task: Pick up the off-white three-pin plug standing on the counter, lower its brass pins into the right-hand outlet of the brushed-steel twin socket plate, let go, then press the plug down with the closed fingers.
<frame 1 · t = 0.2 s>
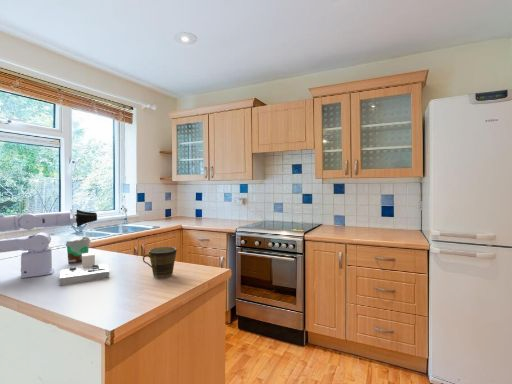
hand: (96, 216, 121), 21 cm above the counter, tool horizontal, fingers open, 7 cm apart
food container: (81, 261, 131), on the counter
ceramic cup: (159, 277, 106), on the counter
plug: (88, 269, 116), on the counter
socket: (84, 277, 106), on the counter
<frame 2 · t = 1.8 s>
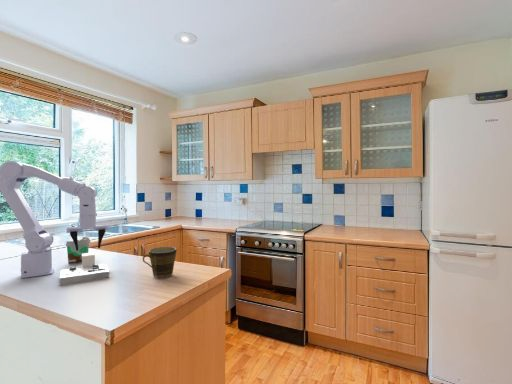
hand: (88, 248, 116), 8 cm above the counter, tool pointing down, fingers open, 7 cm apart
nothing on the counter moved.
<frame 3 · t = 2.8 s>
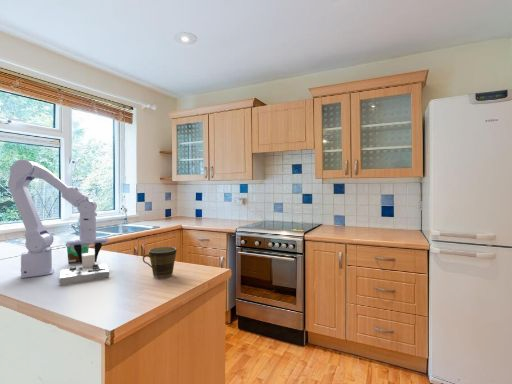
hand: (88, 262, 116), 3 cm above the counter, tool pointing down, fingers closed on plug, 4 cm apart
plug: (88, 269, 116), on the counter, touching gripper
everything else where it was.
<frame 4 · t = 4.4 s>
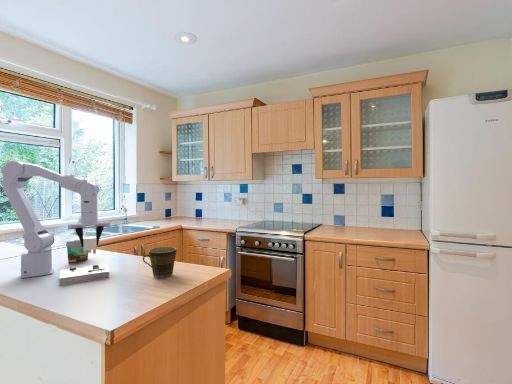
hand: (89, 246, 115), 10 cm above the counter, tool pointing down, fingers closed on plug, 4 cm apart
plug: (89, 253, 115), point 7 cm above the counter, touching gripper
everything else where it was.
when the fingers open (4 cm above the counter, at t = 6.3 s): plug stays where it is, resting on socket.
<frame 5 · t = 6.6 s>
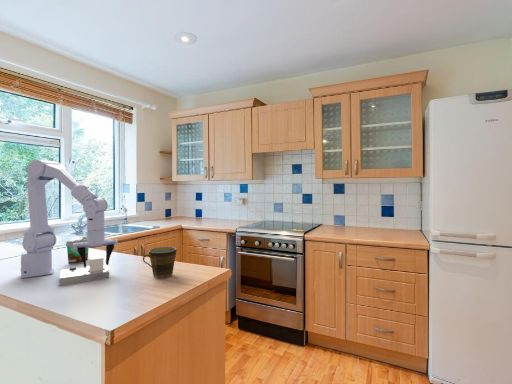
hand: (96, 265, 108), 4 cm above the counter, tool pointing down, fingers open, 7 cm apart
plug: (96, 273, 108), point 1 cm above the counter, touching socket
everything else where it was.
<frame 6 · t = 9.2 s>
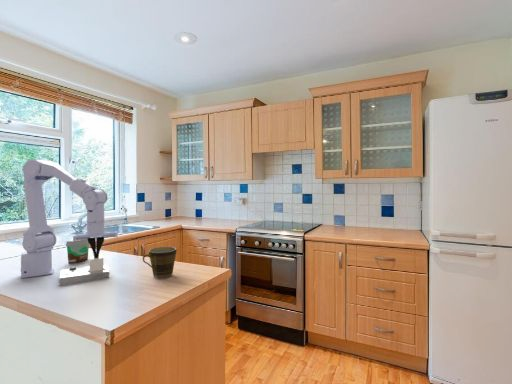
hand: (96, 257, 108), 7 cm above the counter, tool pointing down, fingers closed, pressing on plug
plug: (96, 273, 108), point 1 cm above the counter, touching gripper, socket
everything else where it was.
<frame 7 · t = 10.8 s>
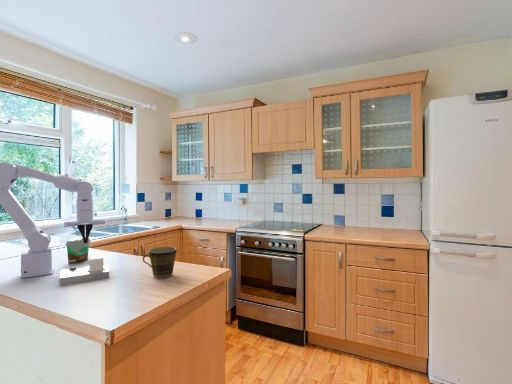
hand: (85, 242, 119), 10 cm above the counter, tool pointing down, fingers closed
plug: (96, 273, 108), point 1 cm above the counter, touching socket
everything else where it was.
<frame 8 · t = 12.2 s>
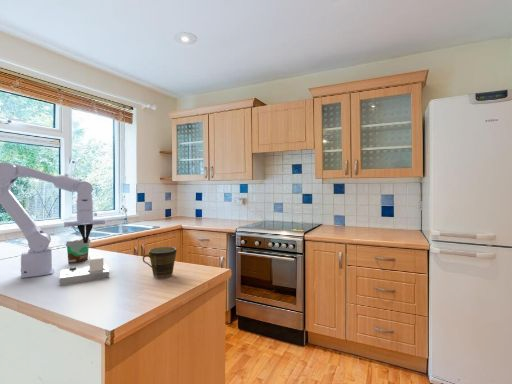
hand: (85, 242, 119), 10 cm above the counter, tool pointing down, fingers closed
nothing on the counter moved.
at the end: plug 0.2 cm from the target spot on the socket, point 0.7 cm above the socket's base; plug tilted 0°; the gripper is holding nothing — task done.
